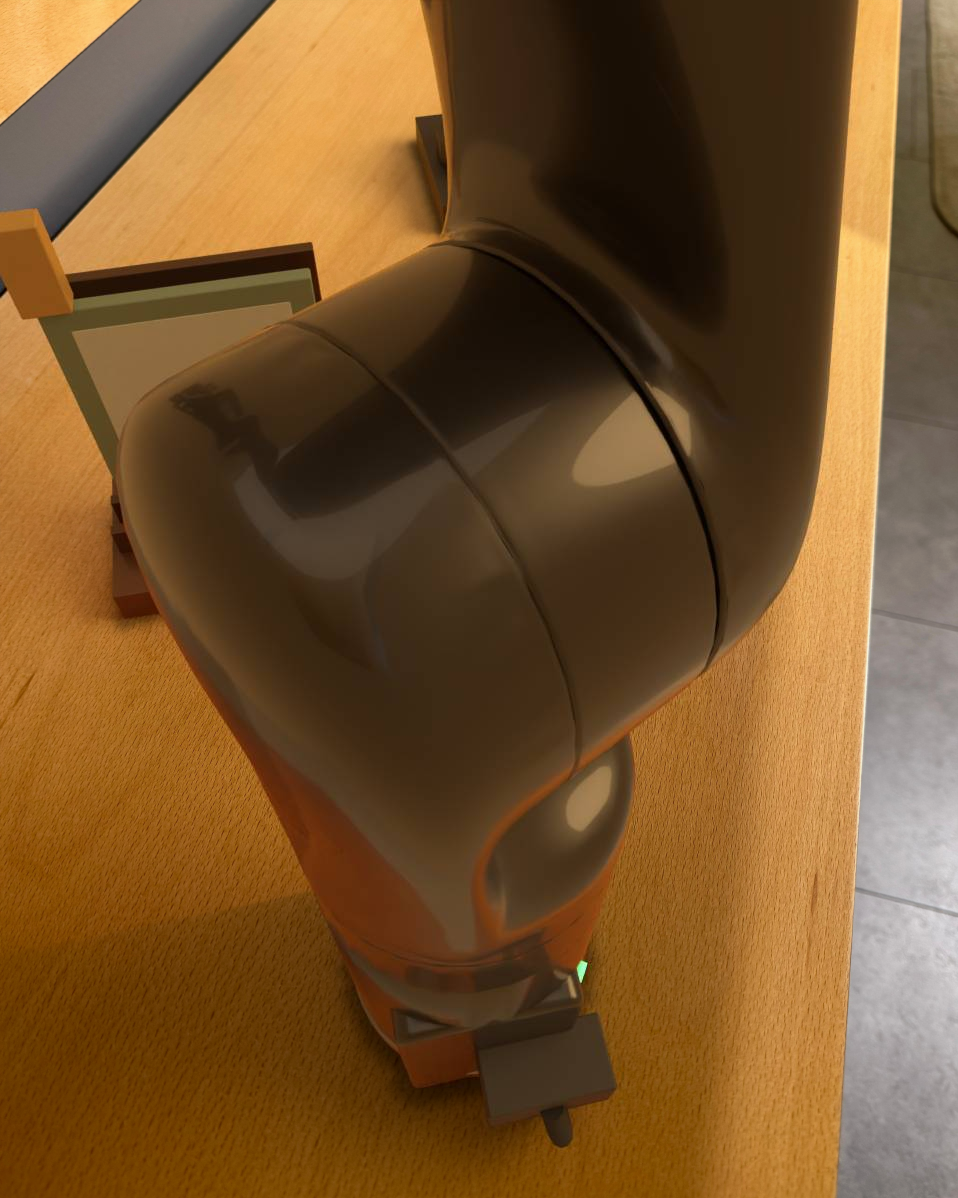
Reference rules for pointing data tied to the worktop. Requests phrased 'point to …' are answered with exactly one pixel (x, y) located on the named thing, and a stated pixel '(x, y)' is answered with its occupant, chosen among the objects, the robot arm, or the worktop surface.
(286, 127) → the worktop surface
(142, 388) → the sash
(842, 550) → the worktop surface
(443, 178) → the button box
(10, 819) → the worktop surface
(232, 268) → the window frame
